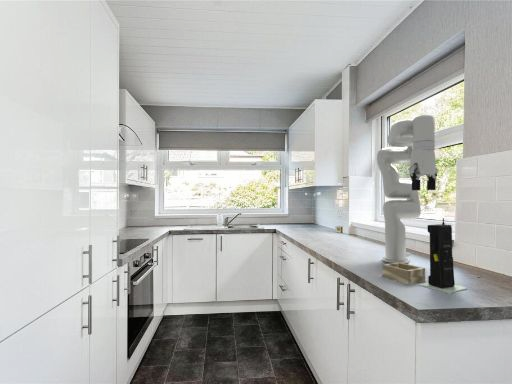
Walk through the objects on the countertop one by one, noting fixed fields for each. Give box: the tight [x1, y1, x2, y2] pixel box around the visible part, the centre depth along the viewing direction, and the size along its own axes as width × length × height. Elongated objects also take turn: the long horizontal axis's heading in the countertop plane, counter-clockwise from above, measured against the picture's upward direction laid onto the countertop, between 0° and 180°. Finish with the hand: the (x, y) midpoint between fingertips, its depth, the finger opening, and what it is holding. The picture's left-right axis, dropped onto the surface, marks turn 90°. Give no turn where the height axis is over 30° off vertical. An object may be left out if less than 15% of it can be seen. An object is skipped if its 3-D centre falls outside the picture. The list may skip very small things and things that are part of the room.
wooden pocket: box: [381, 262, 426, 285], centre depth 119 cm, size 10×12×5 cm
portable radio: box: [427, 217, 456, 288], centre depth 108 cm, size 8×6×25 cm
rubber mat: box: [418, 281, 468, 295], centre depth 108 cm, size 11×11×1 cm
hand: (423, 190), depth 115 cm, fingers open, 9 cm apart
